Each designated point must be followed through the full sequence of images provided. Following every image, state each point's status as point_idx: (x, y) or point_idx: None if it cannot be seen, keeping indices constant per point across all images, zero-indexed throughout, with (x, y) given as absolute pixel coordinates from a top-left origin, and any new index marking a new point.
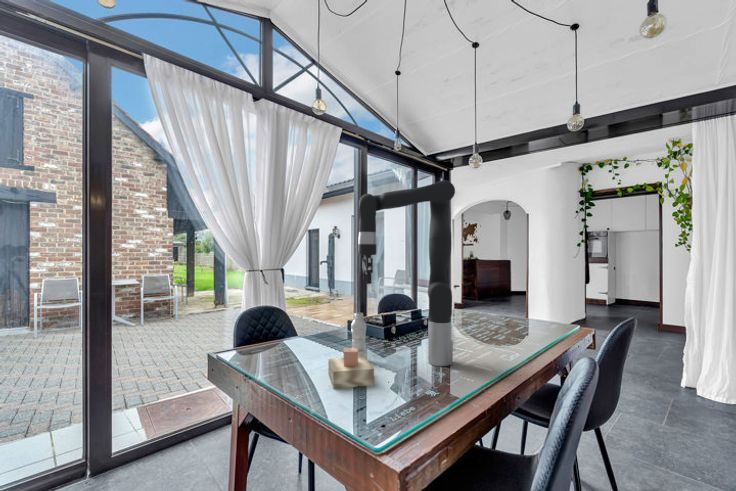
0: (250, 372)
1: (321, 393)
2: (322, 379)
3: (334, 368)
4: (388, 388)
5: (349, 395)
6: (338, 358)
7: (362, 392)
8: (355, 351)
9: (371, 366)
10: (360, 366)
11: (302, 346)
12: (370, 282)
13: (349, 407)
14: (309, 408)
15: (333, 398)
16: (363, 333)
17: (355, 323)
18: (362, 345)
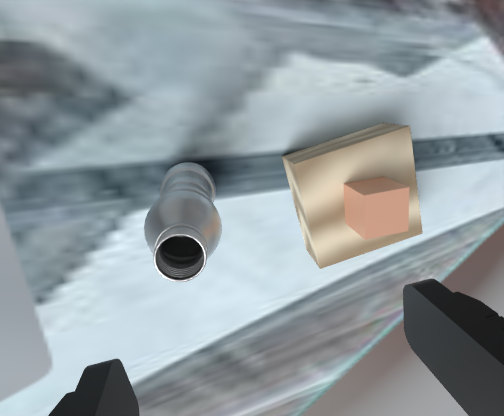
0: (298, 407)
1: (418, 237)
2: None
3: (399, 235)
4: (406, 81)
5: (435, 176)
6: (314, 243)
7: (423, 148)
8: (406, 195)
9: (390, 134)
10: (388, 168)
11: (57, 385)
12: (437, 294)
13: (489, 168)
14: (480, 241)
15: (445, 207)
16: (205, 194)
17: (213, 248)
18: (206, 185)
